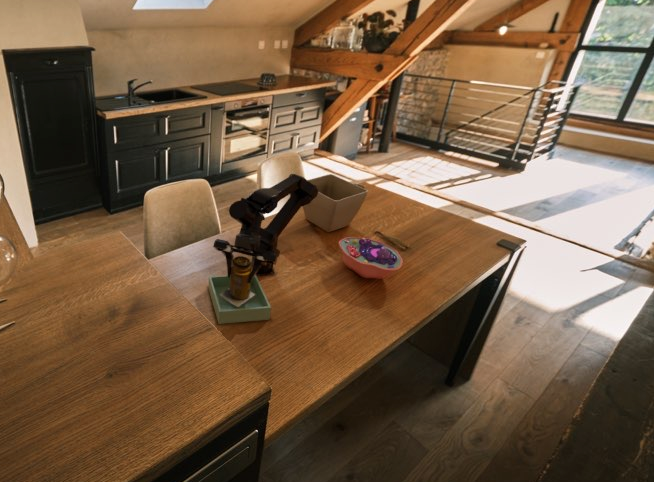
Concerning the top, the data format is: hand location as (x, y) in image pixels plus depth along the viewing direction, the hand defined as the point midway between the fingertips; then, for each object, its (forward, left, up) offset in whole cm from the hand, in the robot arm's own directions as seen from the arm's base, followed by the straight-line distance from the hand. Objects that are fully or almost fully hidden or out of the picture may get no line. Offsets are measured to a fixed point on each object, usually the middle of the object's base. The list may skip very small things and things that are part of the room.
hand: (238, 280), depth 113 cm
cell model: (-49, -11, -10) cm, 51 cm away
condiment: (0, -1, -7) cm, 7 cm away
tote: (-1, -1, -10) cm, 10 cm away
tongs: (-69, -27, -10) cm, 74 cm away
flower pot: (-51, -43, -10) cm, 67 cm away
